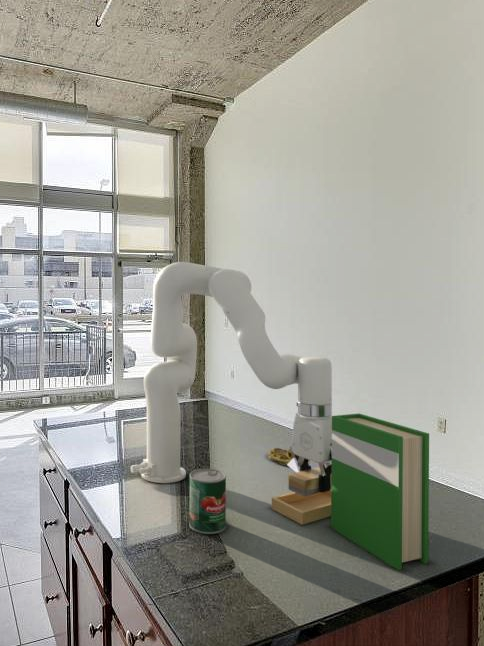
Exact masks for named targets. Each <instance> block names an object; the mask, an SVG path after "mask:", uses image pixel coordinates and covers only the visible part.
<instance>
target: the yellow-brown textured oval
mask: <svg viewBox="0 0 484 646" xmlns="http://www.w3.org/2000/svg"><path fill="white" fill-rule="evenodd" d="M267 458H268V459H269V460H271V461H272V462H275V463H277V464H278V465H282V466H286V467H289V466H288V465H287V464H288V463H289V462H290V461H291V460H292V459H293V458H295V455H294V454H293V453H292V451H291V450H290V448H288V449H282V448H279V447H274V448H271V450H269V451H268V453H267Z"/></svg>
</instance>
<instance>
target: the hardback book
mask: <svg viewBox="0 0 484 646" xmlns="http://www.w3.org/2000/svg"><path fill="white" fill-rule="evenodd" d="M331 464H332V476H331V516H330V517H331V518H330V528H331V529H333V530H334V531H336V532H337V533H339V534H340V535H342V536H344V537H345V538H347V539H349V541H351V542H353V543H355V544H357V545H358V546H359V547H361V548H363V549H364V550H365V551H367V552H369V553H370V554H372V555H374V556H376V557H377V558H378V559H380V560H381V561H383V562H384V563H386V564H388V565H389V566H391V567H393V568H394V569H396V570H402V569H403V563H406V562H410V561H415V560H418V561H420V562H422V563H423V564H427V563H429V532H430V531H429V526H430V525H429V524H430V523H429V522H430V521H429V519H430V517H429V515H430V511H429V510H430V508H429V507H430V433H428V432H426V431H422V430H418V429H415V428H413V427H412V428H411V427H408V426H405V425H401V424H397V423H394V422H390V421H388V420H383V419H380V418H377V417H373V416H370V415H366V414H362V413H359V412H358V413H350V414H339V415H338V414H337V415H332V461H331Z"/></svg>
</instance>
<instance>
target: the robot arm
mask: <svg viewBox="0 0 484 646" xmlns="http://www.w3.org/2000/svg"><path fill="white" fill-rule="evenodd" d="M251 292H252V281H251V279H250V277H249V276H248V275H247V274H245V273H244V272H243V271H240V270H235V269H231V268H220V267H216V266H209V265H205V264H200V263H194V262H189V261H176V262H171V263H170V264H168V265H166V266H164V267H163V268H162V269H161V270H160V271H159V272H158V273H157V275H156V277H155V279H154V282H153V289H152V296H153V297H152V315H151V331H150V347H151V351H152V352H153V354H154V355H155V356H156V357H160V358H166V361H161V362H157V363H154V364H153V365H151V366H150V367H148V368H147V370H146V371H145V373H144V376H143V389H144V396H145V403H146V458H143V459H142V462H141V463H139V464H134V465H130V467H129V468H130V469H129V470H130V473H132V474H134V473H139V475H140V476H141V478H142V479H143V480H145V481H148V482H151V483H155V484H171V483H177V482H180V481H182V480H184V479H185V478H186V477H187V470H186V469H185V468H184V467H182V466H181V452H182V451H181V449H182V448H181V443H182V441H181V439H182V438H181V437H182V436H181V434H182V433H181V431H182V429H181V428H182V426H181V425H182V424H181V423H182V414H181V413H182V411H181V404H180V401H179V398H178V394H180V393H183V392H185V391H187V390H189V389H190V388H191V387H192V386H193V384H194V382H195V378H196V372H197V369H196V368H197V356H198V355H197V353H198V337H197V334H196V332H195V330H194V329H193V327H192V326H191V325H190V324H187V323H184V303H183V300H182V295H184V294H187V295H198V296H199V295H200V296H205V297H211V298H213V299H214V301H215V303H216V304H217V306H218V307H219V308H220V309H221V311H222V312H223V314H224V316H225V317H226V319H227V320H228V322H229V323H230V325H231V326H232V328H233V330H234V332H235V333H236V336H237V337H236V338H237V340H238V345H239V347H240V351H241V353H242V355H243V357H244V359H245V360H246V362H247V364H248V365H249V367H250V369H251V370H252V371H253V373H254V375H255V376H256V377H257V379H258V380H259V381H260V382H261V383H262V384H263V385H264V386H265V387H267V388H268V389H271V390H279V389H283V388H286V387H287V386H290V385H296V384H297V402H296V407H297V408H298V409H297V412H296V413H295V416H294V420H293V425H292V436H291V446H290V447H289V449H290V450H291V451H292V453H293V454H294V455H295V458H296V460H297V462H298V466H299V467H300V471H304V470H309V469H311V466H310V465H309V463H310V460H311V461H314V462H317V463H319V467H320V472H321V475H319V492H321V493H323V492H327V491H330V474H332V416H333V415H332V414H333V412H332V411H333V409H332V408H333V405H332V403H333V400H332V398H333V397H332V396H333V395H332V394H333V393H332V391H333V390H332V389H333V387H332V386H333V383H332V381H333V379H332V373H333V372H332V371H333V370H332V369H333V368H332V361H331V360H330V359H329V358H327V357H322V356H300V355H295V354H289V353H282V354H279V352H278V351H277V349H276V347H274V345H273V344H272V341H271V340H270V338H269V336H268V334H267V331H266V313H265V312H264V310H263V308H262V307H261V306H260V304H259V303H258V301H257V300H256V298H255V297H254V296H253V294H252V293H251ZM325 463H326V468H325Z"/></svg>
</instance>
